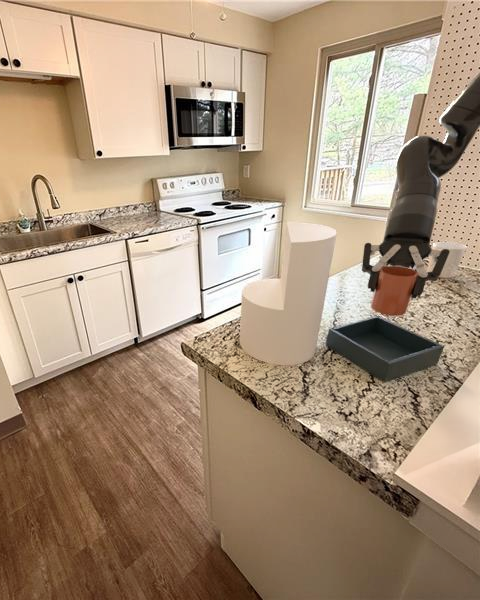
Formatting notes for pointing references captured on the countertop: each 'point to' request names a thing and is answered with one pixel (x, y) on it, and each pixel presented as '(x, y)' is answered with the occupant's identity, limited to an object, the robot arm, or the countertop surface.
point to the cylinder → (289, 299)
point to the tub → (383, 348)
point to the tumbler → (393, 290)
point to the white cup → (448, 258)
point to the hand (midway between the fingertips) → (392, 293)
